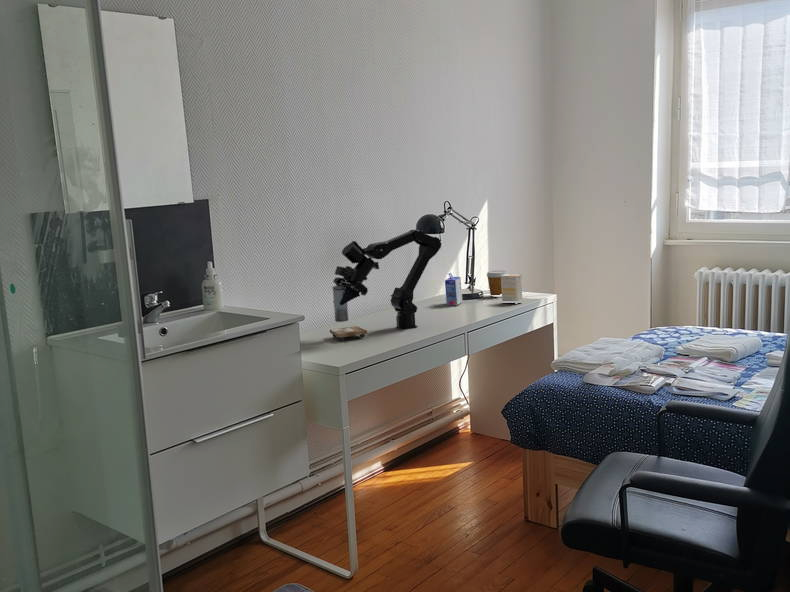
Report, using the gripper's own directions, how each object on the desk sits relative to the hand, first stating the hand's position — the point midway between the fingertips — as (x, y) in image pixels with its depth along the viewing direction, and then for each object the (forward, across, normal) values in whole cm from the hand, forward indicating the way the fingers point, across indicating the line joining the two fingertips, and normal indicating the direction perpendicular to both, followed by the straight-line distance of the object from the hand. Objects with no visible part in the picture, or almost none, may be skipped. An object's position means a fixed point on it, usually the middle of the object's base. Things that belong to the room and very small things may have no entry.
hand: (337, 303), depth 284 cm
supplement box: (-55, -12, +75) cm, 94 cm away
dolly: (+7, +1, +12) cm, 14 cm away
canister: (+4, 0, +6) cm, 7 cm away
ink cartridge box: (-42, -30, +62) cm, 80 cm away
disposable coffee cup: (-60, -32, +80) cm, 106 cm away
